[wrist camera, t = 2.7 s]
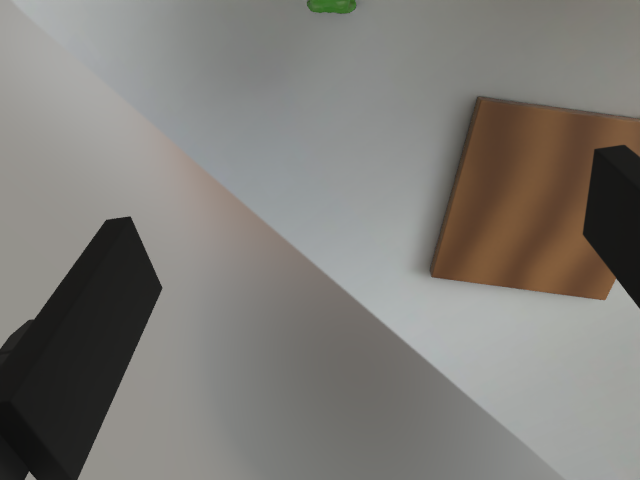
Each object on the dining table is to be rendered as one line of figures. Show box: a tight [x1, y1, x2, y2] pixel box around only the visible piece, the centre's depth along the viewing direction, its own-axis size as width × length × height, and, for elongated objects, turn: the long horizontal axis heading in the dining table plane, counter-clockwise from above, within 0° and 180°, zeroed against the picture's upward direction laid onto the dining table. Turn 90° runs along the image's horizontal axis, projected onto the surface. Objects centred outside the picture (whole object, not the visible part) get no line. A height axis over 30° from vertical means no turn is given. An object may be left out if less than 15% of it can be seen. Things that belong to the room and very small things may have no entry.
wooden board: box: [430, 97, 640, 300], centre depth 36 cm, size 14×14×1 cm
